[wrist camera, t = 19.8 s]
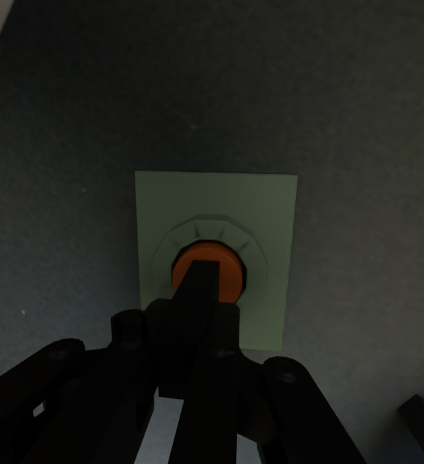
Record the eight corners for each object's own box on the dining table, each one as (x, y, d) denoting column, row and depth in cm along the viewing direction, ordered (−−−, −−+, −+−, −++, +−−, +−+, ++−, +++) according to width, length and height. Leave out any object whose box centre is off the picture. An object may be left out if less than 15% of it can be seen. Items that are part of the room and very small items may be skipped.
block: (146, 170, 19) (121, 171, 15) (291, 174, 18) (304, 175, 14) (151, 323, 22) (131, 356, 18) (278, 334, 21) (285, 371, 17)
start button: (178, 238, 17) (171, 246, 15) (243, 241, 16) (243, 250, 15) (179, 297, 18) (172, 311, 16) (240, 302, 17) (240, 316, 16)
